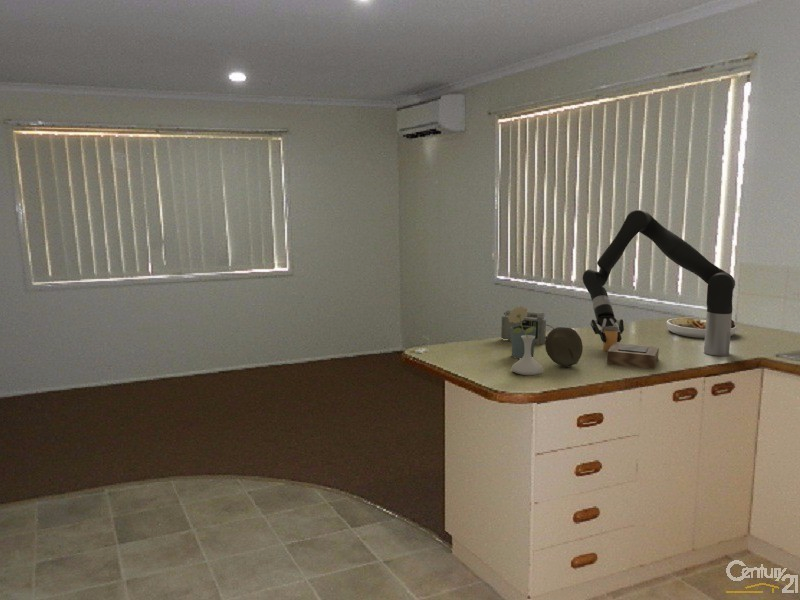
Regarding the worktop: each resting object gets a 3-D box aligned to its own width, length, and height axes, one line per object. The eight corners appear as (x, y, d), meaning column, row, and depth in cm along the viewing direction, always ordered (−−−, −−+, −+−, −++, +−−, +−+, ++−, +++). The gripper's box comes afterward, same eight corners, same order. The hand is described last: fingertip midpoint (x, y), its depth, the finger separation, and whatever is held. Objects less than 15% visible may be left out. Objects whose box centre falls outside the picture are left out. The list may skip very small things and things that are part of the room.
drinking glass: (516, 360, 248) (517, 330, 246) (505, 354, 257) (506, 325, 256) (539, 358, 250) (540, 329, 249) (527, 352, 260) (528, 324, 258)
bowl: (669, 338, 289) (670, 321, 288) (663, 326, 318) (664, 310, 316) (742, 342, 280) (743, 325, 279) (728, 329, 309) (730, 313, 308)
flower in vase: (538, 369, 234) (540, 303, 230) (546, 377, 223) (549, 308, 219) (503, 369, 234) (505, 303, 230) (510, 378, 222) (511, 308, 219)
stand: (658, 359, 249) (658, 346, 248) (654, 368, 234) (655, 354, 234) (613, 354, 256) (613, 341, 255) (607, 363, 242) (607, 350, 241)
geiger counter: (500, 310, 282) (556, 314, 270) (504, 308, 287) (559, 312, 276) (499, 340, 284) (554, 346, 272) (504, 337, 289) (558, 343, 278)
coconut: (586, 364, 241) (587, 326, 239) (576, 372, 229) (578, 332, 227) (550, 359, 248) (551, 322, 246) (538, 367, 236) (540, 328, 234)
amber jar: (618, 349, 266) (619, 326, 264) (616, 352, 260) (617, 328, 259) (603, 348, 268) (604, 325, 267) (601, 350, 263) (602, 327, 262)
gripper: (588, 303, 268) (597, 336, 258) (621, 303, 269) (632, 336, 259) (584, 313, 275) (592, 346, 265) (616, 313, 275) (626, 346, 265)
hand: (612, 341), depth 262 cm, fingers closed on amber jar, 5 cm apart
